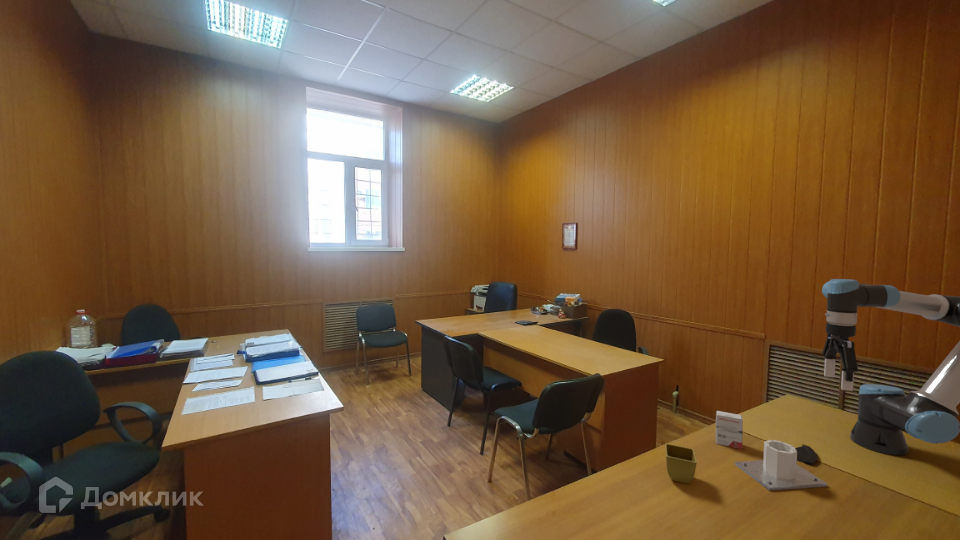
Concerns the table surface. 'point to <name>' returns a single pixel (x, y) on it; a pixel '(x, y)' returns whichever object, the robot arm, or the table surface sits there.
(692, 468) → the flower pot
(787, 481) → the duct plate
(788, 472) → the octagonal hollow tube
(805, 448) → the curved wedge
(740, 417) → the ink box
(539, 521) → the table surface
